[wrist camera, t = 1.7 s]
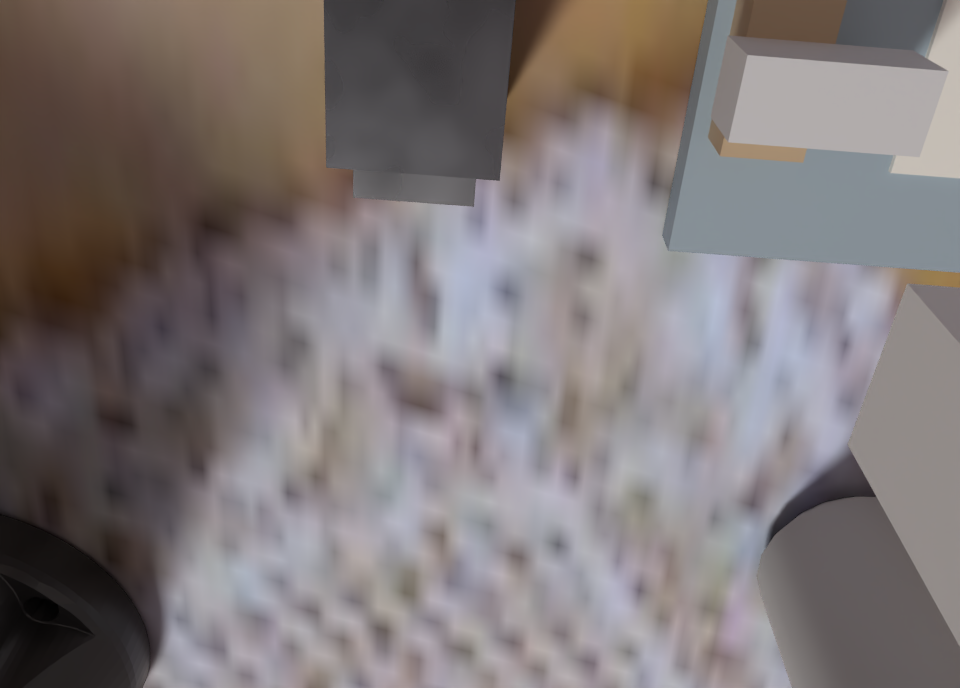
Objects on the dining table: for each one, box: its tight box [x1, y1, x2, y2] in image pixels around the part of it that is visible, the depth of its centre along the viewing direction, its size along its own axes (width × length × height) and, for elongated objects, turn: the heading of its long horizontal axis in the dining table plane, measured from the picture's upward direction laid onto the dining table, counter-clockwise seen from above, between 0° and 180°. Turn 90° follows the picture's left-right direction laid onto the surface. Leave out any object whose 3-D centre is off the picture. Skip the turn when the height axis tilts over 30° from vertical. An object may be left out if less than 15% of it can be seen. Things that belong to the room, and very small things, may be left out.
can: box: [757, 497, 960, 688], centre depth 32 cm, size 8×8×12 cm
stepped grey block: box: [324, 0, 516, 207], centre depth 24 cm, size 7×4×6 cm
